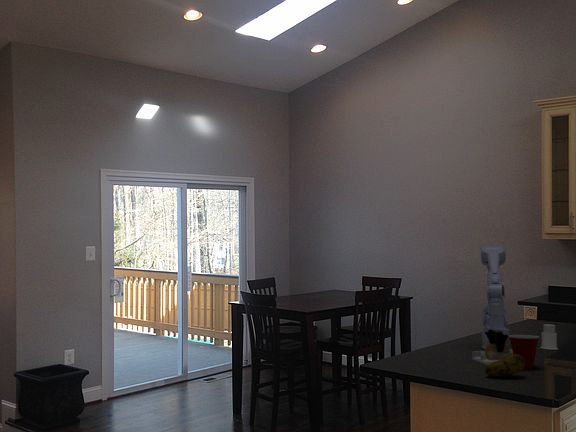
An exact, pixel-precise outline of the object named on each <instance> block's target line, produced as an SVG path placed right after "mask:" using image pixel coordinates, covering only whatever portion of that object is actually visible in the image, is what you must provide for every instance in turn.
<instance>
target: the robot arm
mask: <svg viewBox="0 0 576 432" xmlns="http://www.w3.org/2000/svg"><path fill="white" fill-rule="evenodd" d="M506 252H507V250H506V246H505V245H481V246H480V260H481V261H480V263H481V264H482V265H483V266H485V267H486V268H487V274H486V280H487V282H486V283H487V285H486V298H487V299H486V300H487V305H486V306H485V307H483V308H482V315H481V316H482V326H483V327H484V329H483V330H482V335H481V337H482V346H480V348H481V349H484V350H485V344H495V343H496V348H497V352H503V350H504V346H505V343H506V342H507V340H508V338H509V337H508V335H510V329H509V328H507V327H508V313H507V308H505V307H504V306H505V300H504V299H505V297H506V296H505V295H506V291H505V290H506V289H505V284H504V282H503V281H504V280H503V272H501V271H500V267H501V266H503V265H505V263H506V258H507V257H506V256H507V254H506Z"/></svg>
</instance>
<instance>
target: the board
mask: <svg viewBox="0 0 576 432" xmlns="http://www.w3.org/2000/svg"><path fill="white" fill-rule="evenodd" d="M510 354H513V351H512V348H509V355H510ZM471 360H473V361H475V362H478V363H481V364H483V365H485V366H488V365H489V364H491V363H493V362H497V361H499V360H488V359H486V356H485V350H475V351H471Z"/></svg>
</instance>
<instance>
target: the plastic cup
mask: <svg viewBox="0 0 576 432" xmlns="http://www.w3.org/2000/svg"><path fill="white" fill-rule="evenodd" d="M508 338H509V341H510V346H511V349H512V351H513V354H518V355H520V356H522V357H523V358H524V359H525V361H526V363H525V367H524V371H527V370H529V371H530V370H534V367H535V359H536V353H537V348H538V343H539V339H540V338H541V336H538V335H529V334H526V335H525V334H509V335H508Z"/></svg>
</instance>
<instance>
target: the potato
mask: <svg viewBox="0 0 576 432" xmlns="http://www.w3.org/2000/svg"><path fill="white" fill-rule="evenodd" d="M525 363H526V361H525V359H524V358H523V357H522V356H520V355H518V354H510V355H507V356H505V357H503V358H502V359H501V360H499V361H497V362H493V363H491V364H488V365H486V366H485V374H486V375H487V376H488V377H490V378H506V377H510V376H512V375H515V374H518V373H521V372H524V371H525V370H524V367H525Z"/></svg>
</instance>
